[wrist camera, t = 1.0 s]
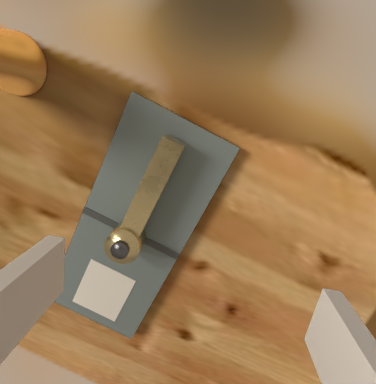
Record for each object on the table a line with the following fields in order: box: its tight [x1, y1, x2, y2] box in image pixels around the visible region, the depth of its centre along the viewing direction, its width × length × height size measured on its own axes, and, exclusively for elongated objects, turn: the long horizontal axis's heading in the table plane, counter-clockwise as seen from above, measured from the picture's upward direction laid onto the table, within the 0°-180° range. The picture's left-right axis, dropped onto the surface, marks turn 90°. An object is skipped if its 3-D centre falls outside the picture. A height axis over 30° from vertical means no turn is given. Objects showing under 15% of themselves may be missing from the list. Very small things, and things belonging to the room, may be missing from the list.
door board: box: [54, 92, 240, 339], centre depth 31 cm, size 12×28×1 cm, turn 153°
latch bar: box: [104, 134, 187, 264], centre depth 26 cm, size 4×14×4 cm, turn 153°
